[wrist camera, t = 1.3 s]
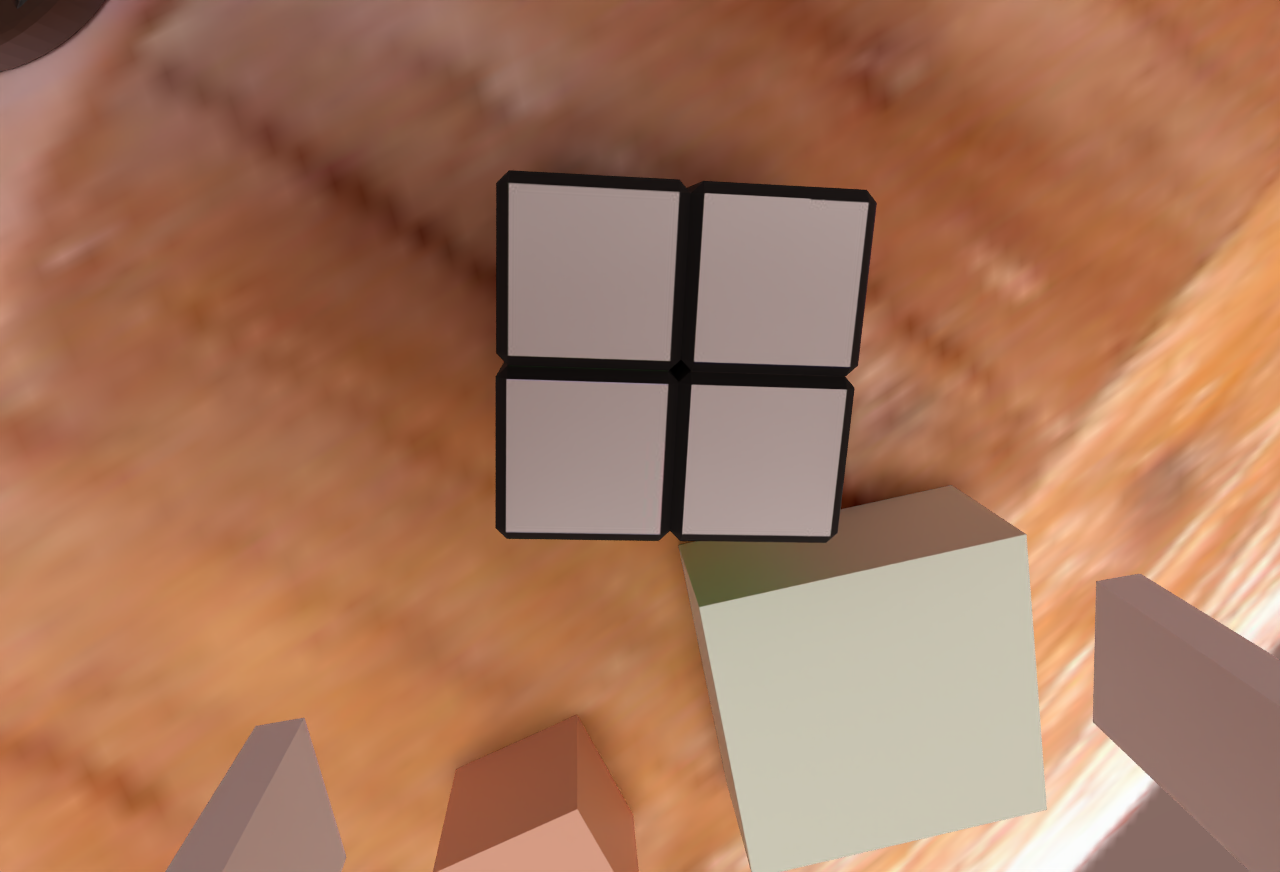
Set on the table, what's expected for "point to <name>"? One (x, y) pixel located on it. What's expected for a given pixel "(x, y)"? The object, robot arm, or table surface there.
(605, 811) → the terracotta block
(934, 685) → the pedestal
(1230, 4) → the table surface
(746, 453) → the puzzle cube
